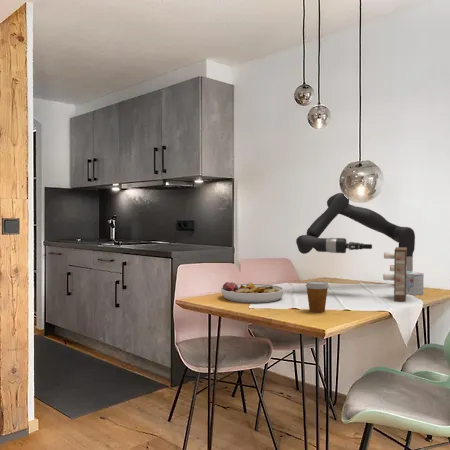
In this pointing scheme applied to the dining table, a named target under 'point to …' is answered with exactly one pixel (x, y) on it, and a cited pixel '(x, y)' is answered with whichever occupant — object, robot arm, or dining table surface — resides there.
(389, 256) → the top button
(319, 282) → the disposable coffee cup
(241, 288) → the bowl
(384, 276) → the bottom button
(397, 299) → the wooden peg board
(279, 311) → the dining table surface
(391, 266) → the middle button
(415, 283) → the light bulb box
